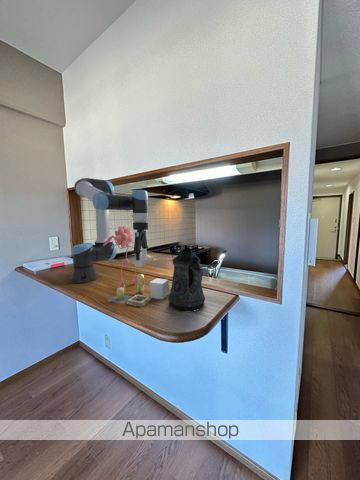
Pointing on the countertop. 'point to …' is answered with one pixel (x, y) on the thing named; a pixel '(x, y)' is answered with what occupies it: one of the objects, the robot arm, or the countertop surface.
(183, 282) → the beer stein
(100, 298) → the countertop surface
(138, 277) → the pin
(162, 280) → the white block
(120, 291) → the peg plate
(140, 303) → the socket board
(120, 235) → the pink flower stem
